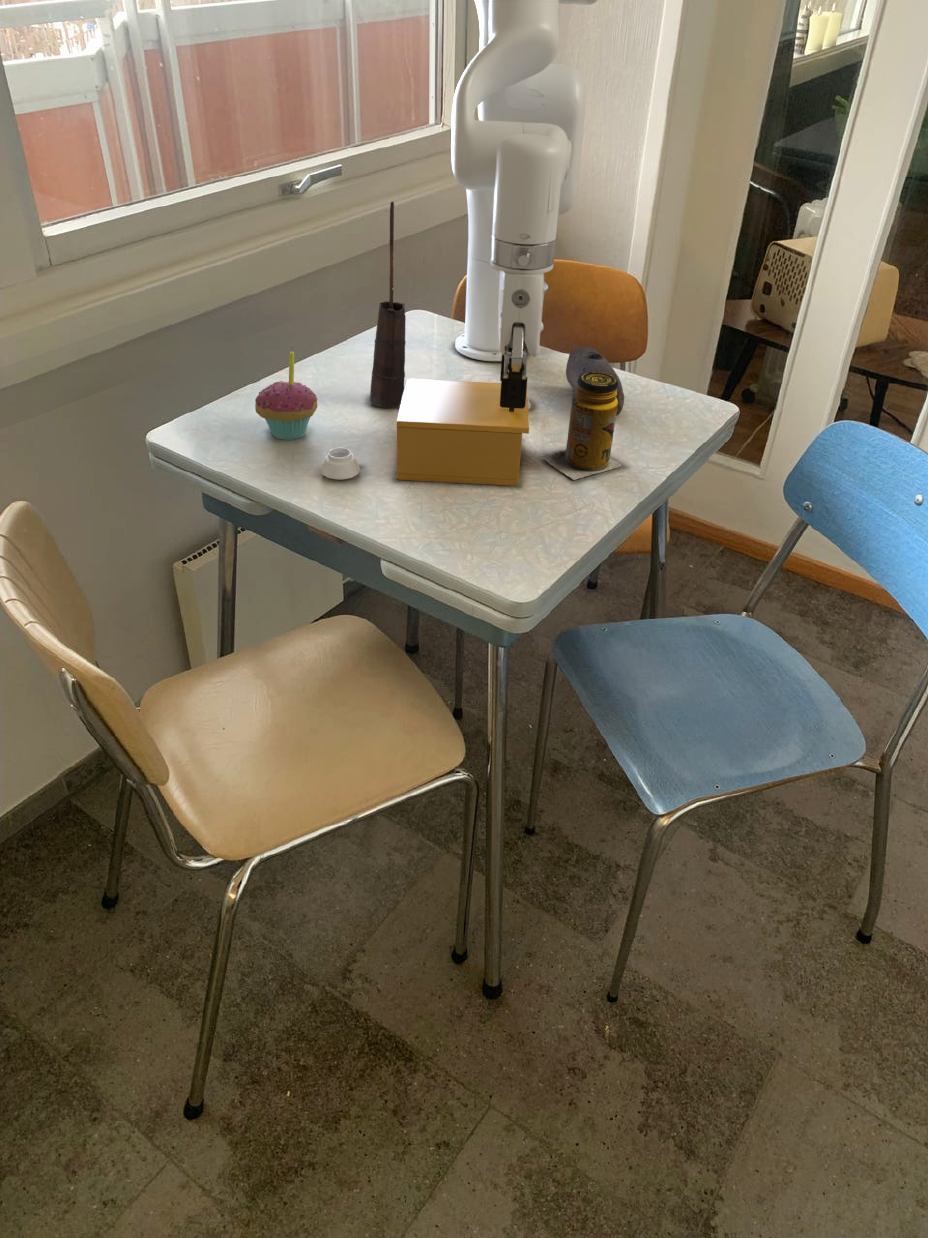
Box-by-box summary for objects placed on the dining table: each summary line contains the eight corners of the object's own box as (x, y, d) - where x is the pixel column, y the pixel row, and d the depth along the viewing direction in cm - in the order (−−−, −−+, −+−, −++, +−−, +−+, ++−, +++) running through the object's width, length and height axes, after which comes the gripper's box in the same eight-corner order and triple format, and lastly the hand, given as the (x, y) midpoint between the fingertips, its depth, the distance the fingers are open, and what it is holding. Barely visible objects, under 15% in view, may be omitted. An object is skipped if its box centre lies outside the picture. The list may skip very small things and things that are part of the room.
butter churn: (408, 421, 134) (409, 217, 117) (347, 411, 135) (339, 209, 119) (427, 397, 141) (430, 202, 124) (369, 388, 143) (364, 194, 126)
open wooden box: (517, 439, 130) (521, 389, 126) (517, 486, 119) (522, 433, 115) (406, 433, 130) (406, 383, 126) (396, 479, 119) (396, 427, 115)
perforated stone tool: (632, 424, 136) (639, 379, 132) (600, 427, 134) (606, 382, 130) (591, 384, 147) (596, 342, 143) (560, 387, 146) (565, 344, 142)
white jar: (313, 473, 120) (339, 486, 117) (312, 452, 118) (338, 465, 116) (341, 460, 123) (367, 472, 121) (340, 440, 121) (367, 452, 119)
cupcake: (285, 415, 134) (278, 334, 126) (332, 430, 130) (328, 347, 123) (245, 436, 128) (236, 352, 120) (293, 452, 124) (286, 367, 117)
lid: (526, 389, 126) (530, 351, 123) (528, 433, 115) (532, 392, 112) (406, 383, 126) (406, 345, 123) (396, 426, 115) (396, 385, 112)
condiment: (622, 466, 125) (635, 382, 118) (573, 481, 121) (584, 395, 114) (588, 445, 130) (598, 363, 122) (540, 458, 126) (548, 375, 119)
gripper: (557, 276, 101) (543, 424, 112) (551, 234, 115) (539, 370, 126) (489, 272, 101) (481, 421, 112) (492, 231, 115) (484, 367, 126)
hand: (512, 393), depth 119 cm, fingers open, 7 cm apart
